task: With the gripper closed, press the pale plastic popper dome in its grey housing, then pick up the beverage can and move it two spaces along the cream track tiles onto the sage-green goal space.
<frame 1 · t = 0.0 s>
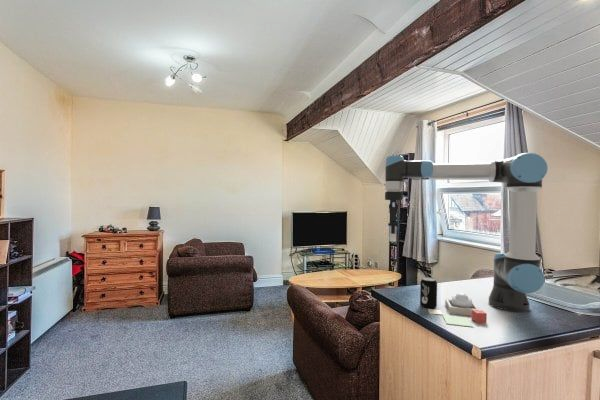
hand: (392, 239, 141), 28 cm above the counter, fingers open, 13 cm apart
track space 1: (435, 312, 131), on the counter
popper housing: (461, 310, 134), on the counter
goal space: (457, 321, 121), on the counter
red die: (479, 321, 122), on the counter
dome: (461, 299, 134), point 5 cm above the counter, slide at 0.0 cm
beverage can: (428, 307, 137), on the counter
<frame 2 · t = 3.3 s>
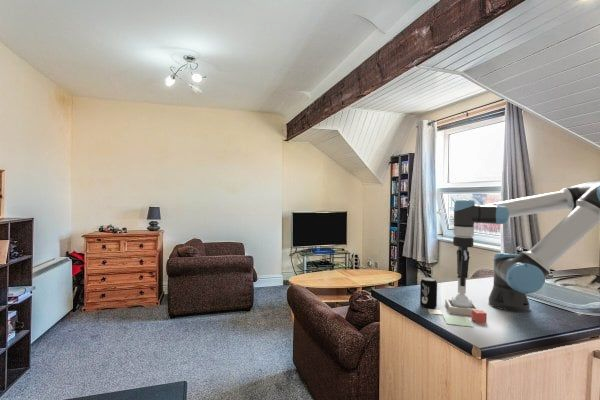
hand: (461, 293, 134), 7 cm above the counter, fingers closed
dome: (461, 300, 134), point 4 cm above the counter, slide at -0.3 cm, touching gripper
everything else where it was.
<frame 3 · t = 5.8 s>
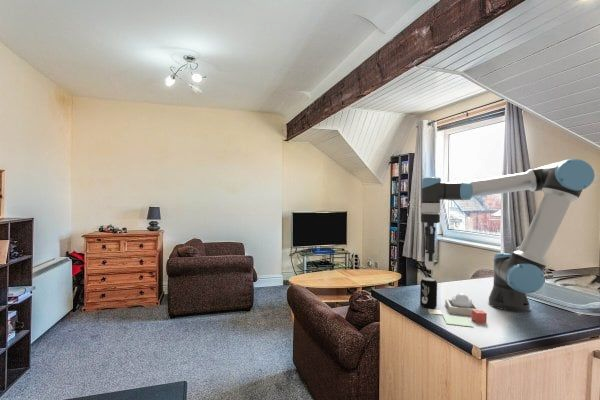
hand: (429, 267, 137), 17 cm above the counter, fingers open, 7 cm apart
dome: (461, 299, 134), point 4 cm above the counter, slide at -0.1 cm
everything else where it was.
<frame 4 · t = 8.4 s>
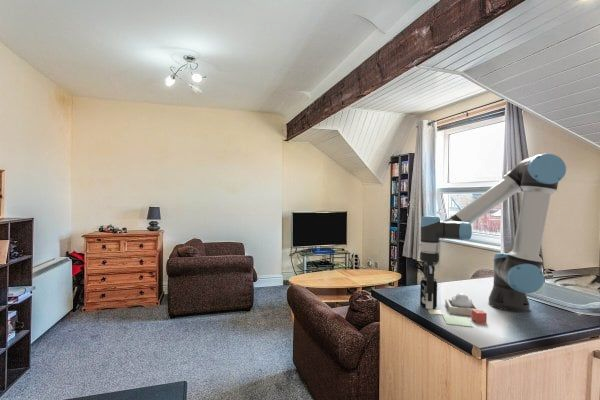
hand: (428, 305, 137), 1 cm above the counter, fingers closed on beverage can, 7 cm apart
beverage can: (428, 307, 137), on the counter, touching gripper
everything else where it was.
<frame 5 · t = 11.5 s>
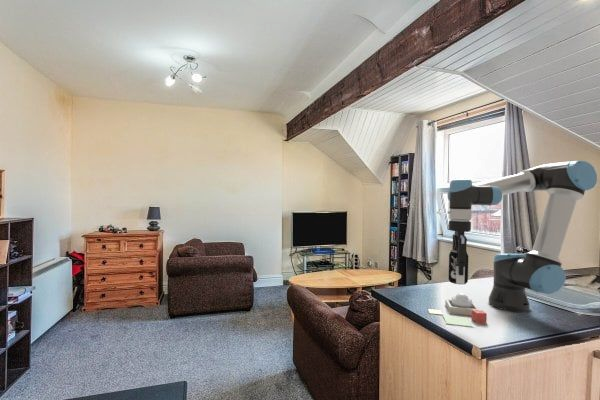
hand: (458, 281, 121), 15 cm above the counter, fingers closed on beverage can, 7 cm apart
beverage can: (457, 283, 121), point 14 cm above the counter, touching gripper
everything else where it was.
when the fingers open (2 cm above the counter, at t = 14.0 s): beverage can drops 1 cm, resting on goal space.
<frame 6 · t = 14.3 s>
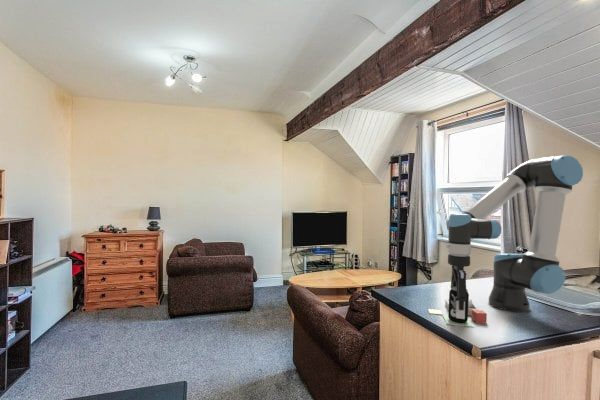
hand: (457, 313, 121), 3 cm above the counter, fingers open, 10 cm apart
beverage can: (457, 320, 121), resting on goal space
everything else where it was.
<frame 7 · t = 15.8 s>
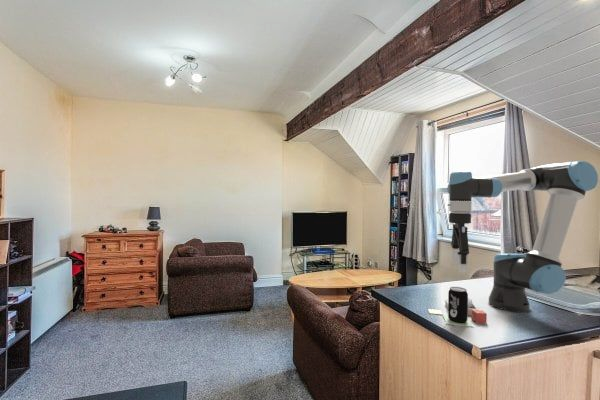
hand: (459, 268, 121), 20 cm above the counter, fingers open, 13 cm apart
nothing on the counter moved.
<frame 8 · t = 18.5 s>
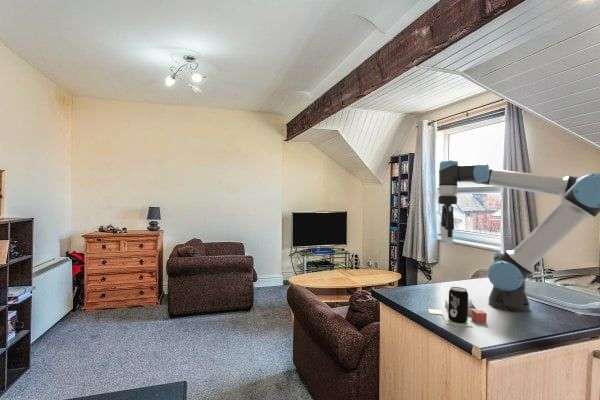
hand: (446, 242, 144), 27 cm above the counter, fingers open, 13 cm apart
nothing on the counter moved.
at the end: beverage can 0.2 cm from the goal space (horizontally); beverage can tilted 1°; dome slide at -0.1 cm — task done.
